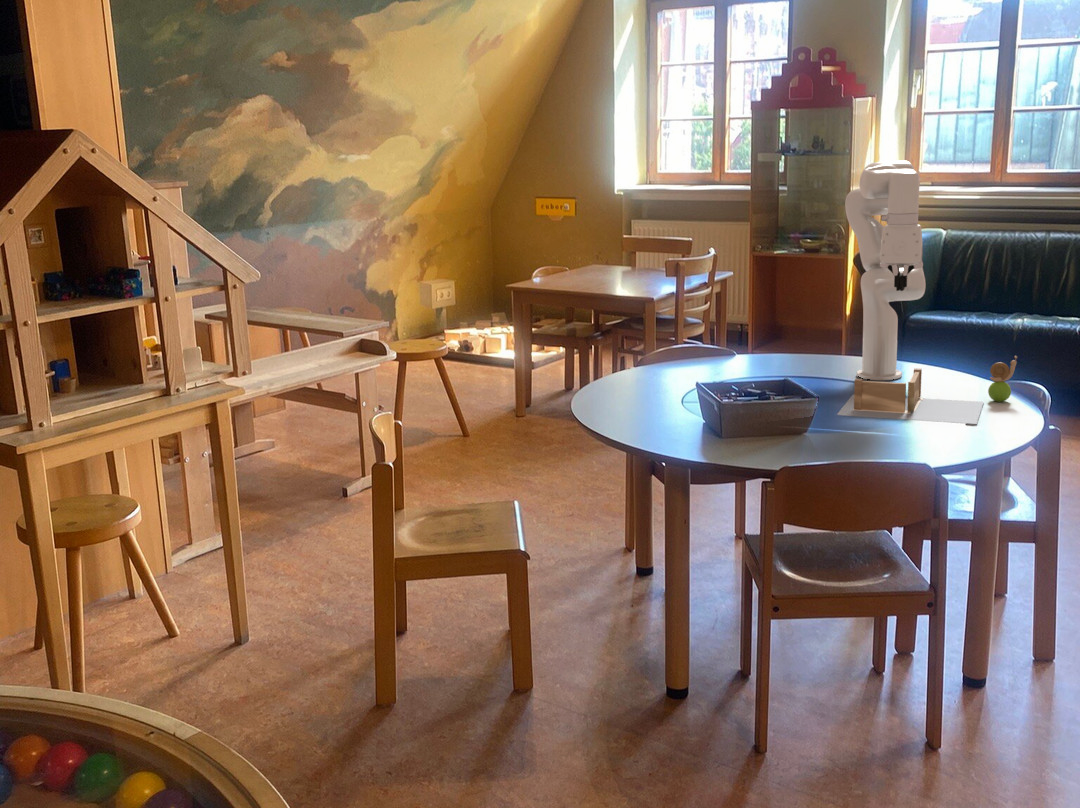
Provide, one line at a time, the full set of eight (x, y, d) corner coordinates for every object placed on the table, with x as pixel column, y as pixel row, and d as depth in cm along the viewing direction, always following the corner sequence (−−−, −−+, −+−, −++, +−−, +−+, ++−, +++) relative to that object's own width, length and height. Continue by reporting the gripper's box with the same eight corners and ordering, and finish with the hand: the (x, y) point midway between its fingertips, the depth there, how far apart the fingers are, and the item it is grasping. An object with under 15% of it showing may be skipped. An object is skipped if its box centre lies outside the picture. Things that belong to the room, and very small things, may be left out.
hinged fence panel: (906, 411, 260) (907, 382, 258) (913, 395, 275) (914, 368, 273) (914, 411, 259) (915, 383, 257) (920, 395, 274) (921, 368, 272)
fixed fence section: (855, 407, 267) (855, 378, 265) (905, 411, 262) (906, 381, 260) (853, 409, 266) (854, 380, 264) (904, 412, 260) (905, 382, 258)
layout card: (852, 395, 281) (852, 394, 281) (983, 403, 266) (983, 401, 266) (836, 416, 262) (836, 414, 262) (976, 425, 247) (976, 423, 247)
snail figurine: (1016, 404, 264) (1019, 358, 261) (990, 404, 265) (992, 358, 262) (1011, 398, 269) (1014, 353, 266) (985, 399, 270) (988, 354, 267)
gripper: (870, 221, 267) (868, 291, 272) (931, 221, 260) (928, 293, 265) (875, 218, 273) (874, 287, 278) (935, 218, 266) (932, 288, 271)
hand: (900, 289), depth 271 cm, fingers closed
